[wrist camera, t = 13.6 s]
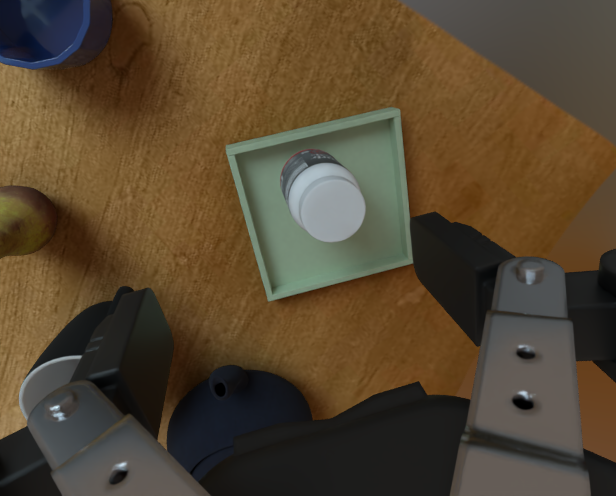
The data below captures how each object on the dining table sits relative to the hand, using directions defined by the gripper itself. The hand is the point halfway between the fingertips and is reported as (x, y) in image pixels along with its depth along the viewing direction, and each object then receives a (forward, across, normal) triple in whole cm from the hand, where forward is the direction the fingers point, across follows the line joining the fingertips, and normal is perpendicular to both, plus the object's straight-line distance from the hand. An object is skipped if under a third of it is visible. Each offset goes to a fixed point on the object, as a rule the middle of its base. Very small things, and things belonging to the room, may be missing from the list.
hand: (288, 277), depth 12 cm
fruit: (+26, +20, +2) cm, 33 cm away
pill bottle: (+25, -4, +5) cm, 26 cm away
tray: (+26, -5, +8) cm, 27 cm away
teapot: (+25, +9, +29) cm, 39 cm away
